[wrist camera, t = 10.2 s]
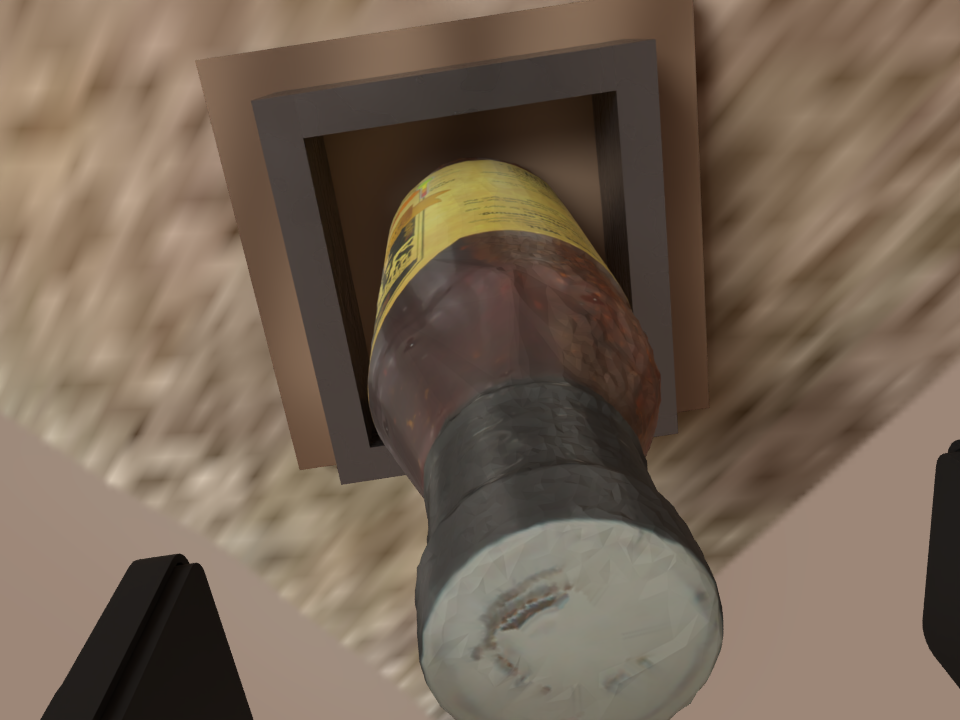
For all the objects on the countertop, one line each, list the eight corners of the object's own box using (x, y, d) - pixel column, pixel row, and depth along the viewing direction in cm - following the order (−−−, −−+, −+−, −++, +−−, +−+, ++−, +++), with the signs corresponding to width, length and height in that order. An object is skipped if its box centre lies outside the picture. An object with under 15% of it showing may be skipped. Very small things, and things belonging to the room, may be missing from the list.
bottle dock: (679, -13, 27) (736, -25, 22) (697, 391, 33) (746, 456, 28) (207, 59, 27) (155, 64, 22) (305, 451, 33) (282, 528, 28)
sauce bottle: (374, 166, 27) (253, 427, 9) (557, 138, 27) (815, 341, 9) (408, 346, 30) (367, 843, 11) (576, 320, 30) (810, 776, 11)
